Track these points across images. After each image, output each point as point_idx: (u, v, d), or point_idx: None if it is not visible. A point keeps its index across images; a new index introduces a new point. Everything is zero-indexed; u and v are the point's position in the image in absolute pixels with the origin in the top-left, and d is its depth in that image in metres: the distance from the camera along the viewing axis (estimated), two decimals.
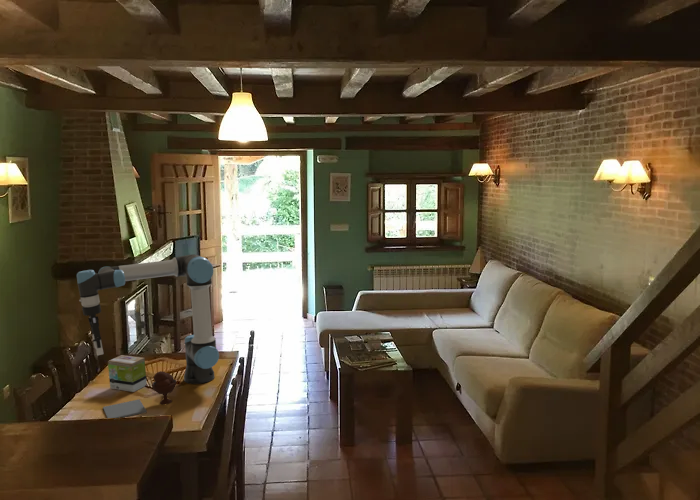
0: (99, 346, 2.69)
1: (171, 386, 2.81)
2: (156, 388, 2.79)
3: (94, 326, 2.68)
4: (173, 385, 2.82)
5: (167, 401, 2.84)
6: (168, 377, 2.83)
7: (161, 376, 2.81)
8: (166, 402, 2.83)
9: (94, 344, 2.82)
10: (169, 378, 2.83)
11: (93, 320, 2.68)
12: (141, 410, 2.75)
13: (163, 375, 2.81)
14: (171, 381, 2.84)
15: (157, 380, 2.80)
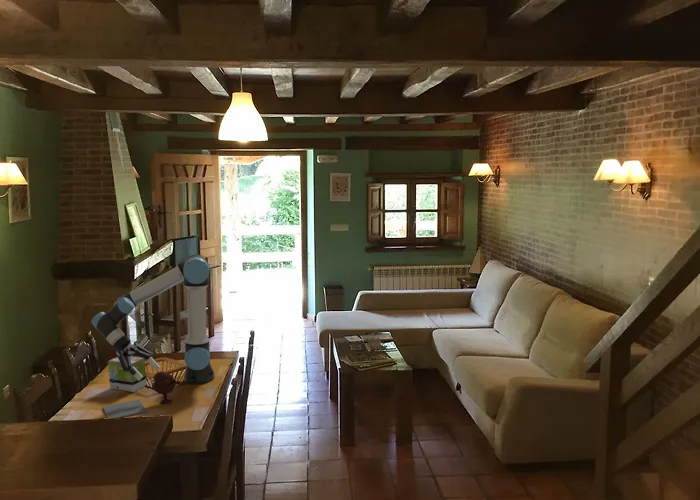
0: (133, 373, 2.77)
1: (171, 386, 2.81)
2: (156, 388, 2.79)
3: (120, 359, 2.79)
4: (173, 385, 2.82)
5: (167, 401, 2.84)
6: (168, 377, 2.83)
7: (161, 376, 2.80)
8: (166, 402, 2.83)
9: (153, 367, 2.91)
10: (169, 378, 2.83)
11: (117, 354, 2.80)
12: (141, 410, 2.75)
13: (163, 375, 2.81)
14: (171, 381, 2.84)
15: (157, 380, 2.80)
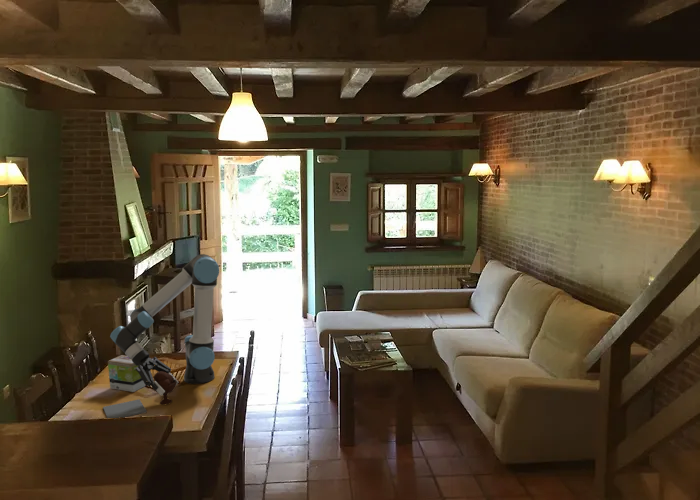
0: (155, 387, 2.77)
1: (171, 386, 2.81)
2: None
3: (140, 374, 2.78)
4: (173, 385, 2.82)
5: (167, 401, 2.84)
6: (168, 377, 2.83)
7: (161, 376, 2.80)
8: (166, 402, 2.83)
9: None
10: (169, 378, 2.83)
11: (137, 369, 2.79)
12: (141, 410, 2.75)
13: (163, 375, 2.81)
14: (171, 381, 2.84)
15: (157, 380, 2.80)
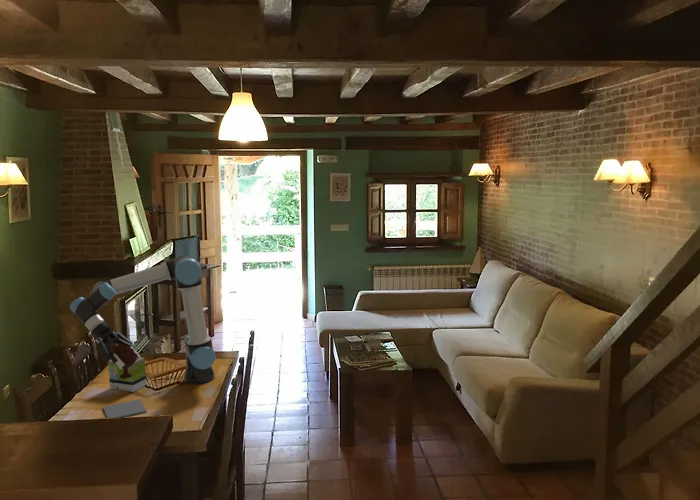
0: (114, 360, 2.68)
1: (131, 359, 2.72)
2: None
3: (99, 346, 2.69)
4: (133, 358, 2.73)
5: (127, 375, 2.75)
6: (129, 350, 2.74)
7: (121, 349, 2.72)
8: (126, 376, 2.74)
9: None
10: (130, 351, 2.74)
11: (96, 341, 2.70)
12: (141, 410, 2.75)
13: (123, 348, 2.72)
14: (132, 354, 2.75)
15: (117, 353, 2.71)
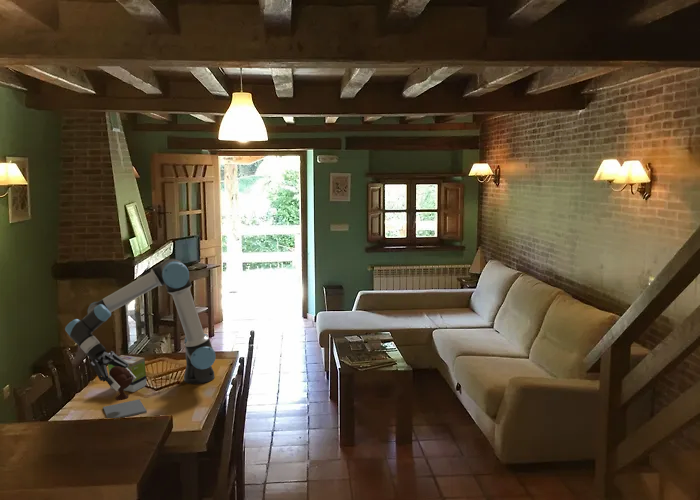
0: (110, 383, 2.68)
1: (127, 381, 2.72)
2: None
3: (95, 368, 2.69)
4: (129, 380, 2.73)
5: (123, 397, 2.75)
6: (124, 372, 2.74)
7: (117, 371, 2.72)
8: (122, 398, 2.74)
9: None
10: (125, 373, 2.75)
11: (92, 363, 2.70)
12: (141, 410, 2.75)
13: (119, 370, 2.72)
14: (127, 376, 2.75)
15: (112, 375, 2.72)
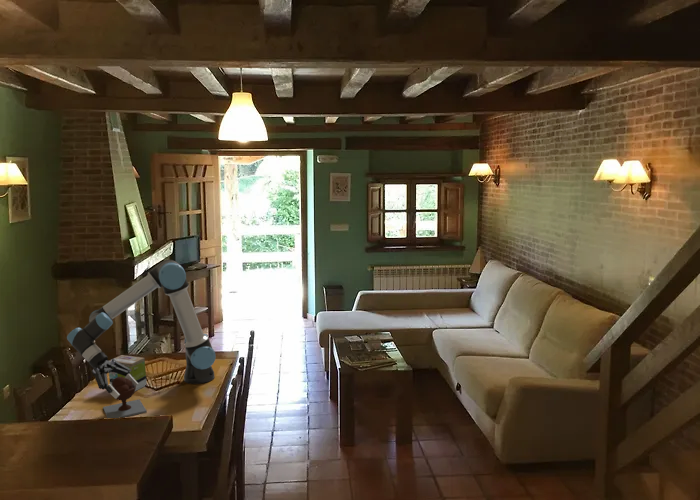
0: (109, 391, 2.68)
1: (129, 392, 2.73)
2: None
3: (96, 376, 2.70)
4: (132, 391, 2.75)
5: (126, 407, 2.76)
6: (127, 382, 2.76)
7: (119, 381, 2.73)
8: (125, 408, 2.76)
9: None
10: (128, 383, 2.76)
11: (93, 371, 2.71)
12: (141, 410, 2.75)
13: (121, 380, 2.73)
14: (130, 386, 2.76)
15: (115, 386, 2.73)
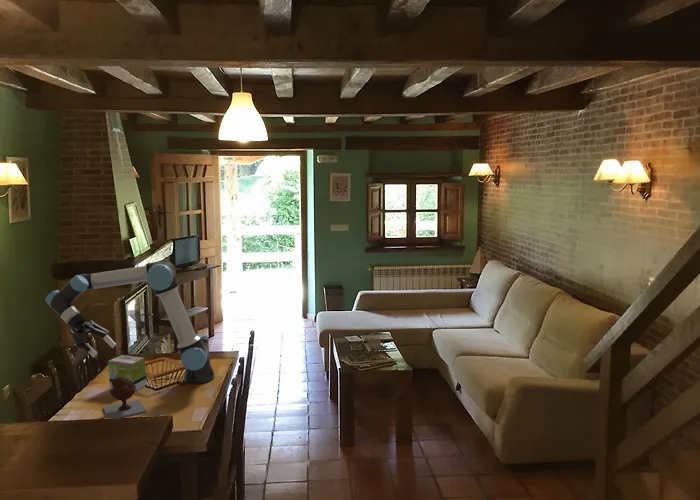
0: (87, 349, 2.76)
1: (130, 392, 2.73)
2: (114, 394, 2.72)
3: (74, 336, 2.78)
4: (132, 391, 2.74)
5: (126, 407, 2.76)
6: (127, 383, 2.76)
7: (119, 382, 2.73)
8: (125, 408, 2.76)
9: (109, 345, 2.90)
10: (128, 384, 2.76)
11: (71, 331, 2.79)
12: (141, 410, 2.75)
13: (121, 381, 2.73)
14: (130, 387, 2.76)
15: (115, 386, 2.73)
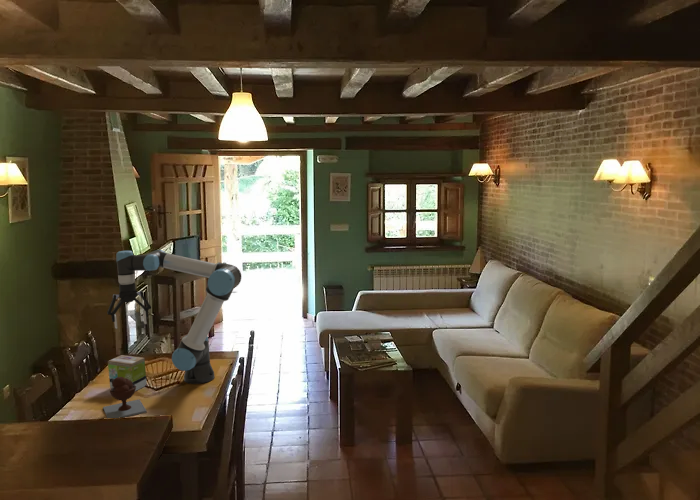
0: (112, 320, 2.96)
1: (130, 392, 2.73)
2: (114, 394, 2.72)
3: (111, 301, 2.95)
4: (132, 391, 2.74)
5: (126, 407, 2.76)
6: (127, 383, 2.76)
7: (119, 382, 2.73)
8: (125, 408, 2.76)
9: None
10: (128, 384, 2.76)
11: None
12: (141, 410, 2.75)
13: (121, 381, 2.73)
14: (130, 387, 2.76)
15: (115, 386, 2.73)
